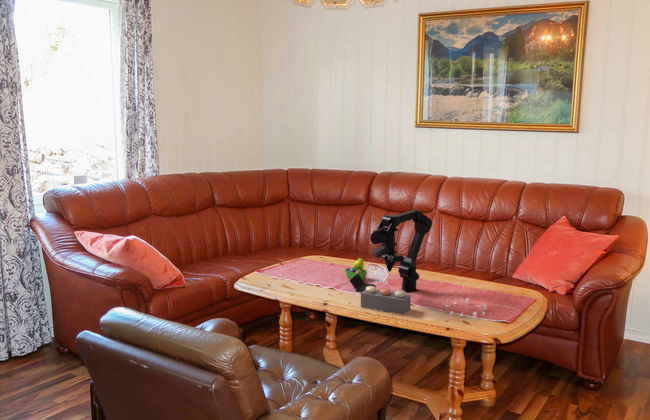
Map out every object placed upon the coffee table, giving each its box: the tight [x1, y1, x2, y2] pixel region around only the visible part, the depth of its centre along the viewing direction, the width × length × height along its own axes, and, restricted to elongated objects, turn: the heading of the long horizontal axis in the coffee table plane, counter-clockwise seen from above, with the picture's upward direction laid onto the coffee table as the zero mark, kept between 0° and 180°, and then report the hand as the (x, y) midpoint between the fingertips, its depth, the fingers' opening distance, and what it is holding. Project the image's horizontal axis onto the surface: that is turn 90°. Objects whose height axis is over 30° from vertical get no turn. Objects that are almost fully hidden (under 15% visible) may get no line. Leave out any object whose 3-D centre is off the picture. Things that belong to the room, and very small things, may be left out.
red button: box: [379, 288, 392, 295], centre depth 271 cm, size 5×5×4 cm
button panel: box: [360, 288, 412, 316], centre depth 272 cm, size 22×8×7 cm, turn 59°
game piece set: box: [444, 297, 487, 319], centre depth 267 cm, size 19×20×4 cm
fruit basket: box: [344, 257, 368, 281], centre depth 316 cm, size 11×9×11 cm
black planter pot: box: [349, 274, 376, 293], centre depth 301 cm, size 13×8×11 cm
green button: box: [395, 290, 406, 298], centre depth 267 cm, size 5×5×4 cm
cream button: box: [366, 286, 377, 293], centre depth 275 cm, size 5×5×4 cm
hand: (389, 271), depth 286 cm, fingers closed
